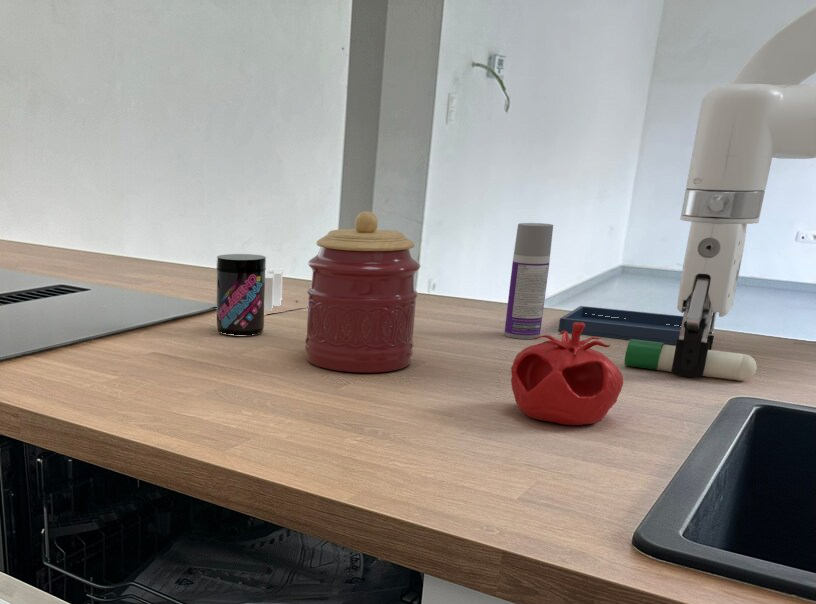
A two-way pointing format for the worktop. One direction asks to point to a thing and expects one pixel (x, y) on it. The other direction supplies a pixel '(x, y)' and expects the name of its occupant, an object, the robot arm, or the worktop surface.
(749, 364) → the marker
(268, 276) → the napkin holder
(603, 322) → the pen tray
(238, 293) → the supplement container
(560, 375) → the red hollow tomato
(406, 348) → the kitchen canister
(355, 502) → the worktop surface
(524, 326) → the container
